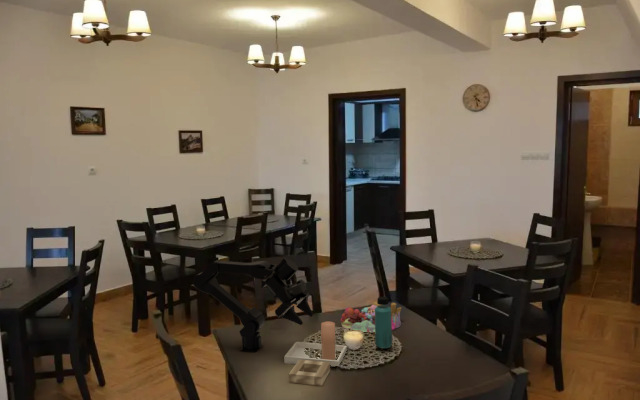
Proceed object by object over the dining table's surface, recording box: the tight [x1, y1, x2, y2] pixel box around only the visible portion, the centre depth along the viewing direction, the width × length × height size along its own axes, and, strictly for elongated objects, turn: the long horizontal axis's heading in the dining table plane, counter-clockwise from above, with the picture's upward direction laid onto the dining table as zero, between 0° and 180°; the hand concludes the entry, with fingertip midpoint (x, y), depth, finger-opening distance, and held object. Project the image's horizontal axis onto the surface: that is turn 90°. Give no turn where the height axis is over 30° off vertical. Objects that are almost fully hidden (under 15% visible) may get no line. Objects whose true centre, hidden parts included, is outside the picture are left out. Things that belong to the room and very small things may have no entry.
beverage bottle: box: [374, 296, 393, 349], centre depth 192 cm, size 6×7×20 cm
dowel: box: [320, 321, 336, 360], centre depth 183 cm, size 5×5×13 cm
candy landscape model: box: [340, 300, 402, 332], centre depth 219 cm, size 25×24×9 cm
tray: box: [283, 341, 348, 367], centre depth 186 cm, size 20×14×2 cm
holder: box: [288, 360, 331, 387], centre depth 171 cm, size 11×11×3 cm
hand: (307, 320), depth 187 cm, fingers open, 9 cm apart
